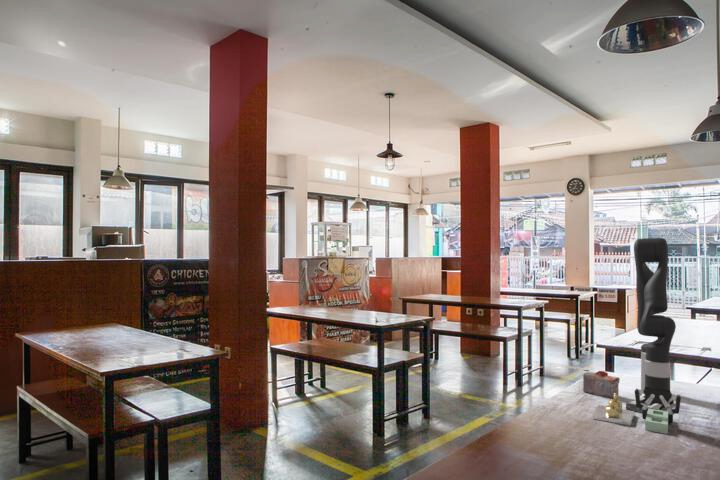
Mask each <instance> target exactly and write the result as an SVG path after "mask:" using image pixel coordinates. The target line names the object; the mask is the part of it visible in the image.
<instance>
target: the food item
mask: <svg viewBox="0 0 720 480" xmlns="http://www.w3.org/2000/svg"><path fill="white" fill-rule="evenodd" d="M582 374H583V375H582V378H583V382H582V383H583V390H582V391H583V393H587V394H590V395H591V394H593V395H595V396H597V397H605V398H610V399H612V398H613V399H614V394H615V393H616V394H617V397H619V393H620V392H619V384H620V380H621V379H620V377H616V376H612V375H609V374H608V372H606V371H604V370H599V371H597V372H594V371H585V372H584V373H582Z"/></svg>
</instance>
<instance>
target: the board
mask: <svg viewBox="0 0 720 480" xmlns="http://www.w3.org/2000/svg"><path fill="white" fill-rule="evenodd" d="M644 422H645V423H644V431H645V430H646V431H650V432H655V433H660V434H666V435H668V433H669V427H670V425H668V411H667V410H655V409H649V408H648V412H647V416H646V420H645V419H644Z"/></svg>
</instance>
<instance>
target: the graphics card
mask: <svg viewBox="0 0 720 480" xmlns="http://www.w3.org/2000/svg"><path fill="white" fill-rule="evenodd" d="M646 400H647V397H646V396H645V395H643V396H640V402H641V404H643V405H644V403H645V402H646ZM668 402H669V404H670V406H672V405H673V404H674V403H675V401H674V399H673V398H672V397H671V398H670V399H669V400H668ZM648 408H649V409H655V410H661V411H664V410H665V409H666V408H665V406H664V404H663V405H660V404H658V403H656V404H654V403H650V404H649V406H648V407H647V412H648ZM625 410H629V411H635V412H636V413H641V414H642V409H641V408H639V407H637V406H636V400H632V401H630V402H626V403H625Z"/></svg>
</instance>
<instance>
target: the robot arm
mask: <svg viewBox="0 0 720 480" xmlns="http://www.w3.org/2000/svg"><path fill="white" fill-rule="evenodd" d="M633 255H634V262H635V263H634V265H635V271H636V272H635V273H636V282H635V284H636V285H635V287H636V301H637V318H636V321H637V322H636V329H637V332H638V334H639V335H641V336H645V337H653V338H655V337H656V338H657V339H655V340H653V341H651V342H646V343H643V344H642V345H641V346H640V389H639V388H635V390H634V396H635V397H634V398H635V401H636V406H637V407H639V408H641V409H642V413H641V417H642V419H643V420H644V421H645V420H646V416H647V407H648V406H649V404H650V403H654V404H656V403H658V404H660V405H663V404H664V406H665V409H666V411H667V412H668V425H669V426H671V424H672V425H673V423H674V415H676V414H679V413H680V407H681V401H682V396H681V394H674V393H672V392H671V364H670V349H671V345H672V340H673V338H674V335H675V332H676V326H677V325H676V322H675V321H674V319H673V318H672V317H671V316H670V317H669V316H664V315H662V313H665V312H667V311H668V307H669V305H668V293H667V283H668V281H667V280H668V268H669V267H668V266H669V248H668V241H667V240H666V239H665V238H663V237H648V238H638V239H635V241H634V244H633ZM647 263H658V265H657V268H656V270H655V272H653V270H651V269H650V267H649V266H648V265H647ZM643 394H644V396H646V397H647V400H646V402H645V403H644V405H643V404H641V402H640V398H641V397H642V395H643ZM671 397H672V399H673V400H674V403H675V405H674V406H675V407H674V408H672V407H671V406H672V405H670V404H669V402H668V400H669V399H670V398H671Z"/></svg>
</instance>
